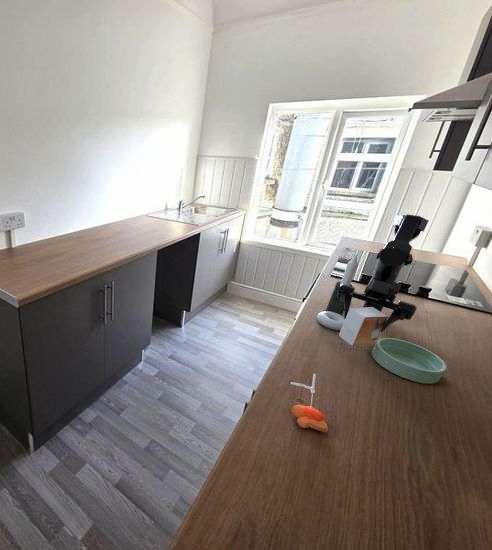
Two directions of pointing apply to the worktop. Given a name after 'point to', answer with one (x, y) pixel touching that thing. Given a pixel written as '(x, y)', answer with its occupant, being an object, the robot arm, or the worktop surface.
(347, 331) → the small box
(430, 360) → the bowl
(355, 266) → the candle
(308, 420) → the orange lobed stemmed ornament
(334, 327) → the donut
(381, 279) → the robot arm
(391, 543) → the worktop surface
